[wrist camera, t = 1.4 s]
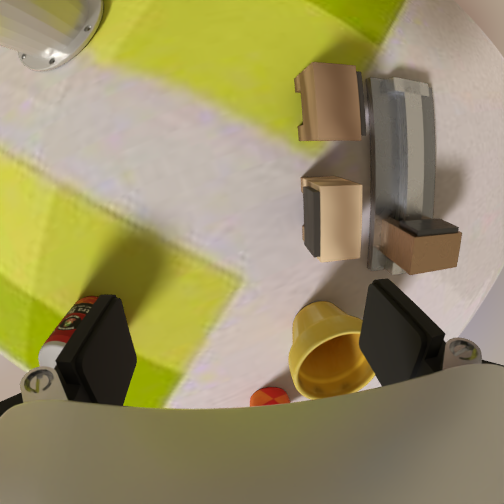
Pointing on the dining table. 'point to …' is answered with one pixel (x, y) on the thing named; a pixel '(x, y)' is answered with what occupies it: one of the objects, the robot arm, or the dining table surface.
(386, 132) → the rail
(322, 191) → the tan notched block
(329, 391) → the plant pot
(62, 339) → the canned food
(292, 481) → the robot arm
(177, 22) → the dining table surface
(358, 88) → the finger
